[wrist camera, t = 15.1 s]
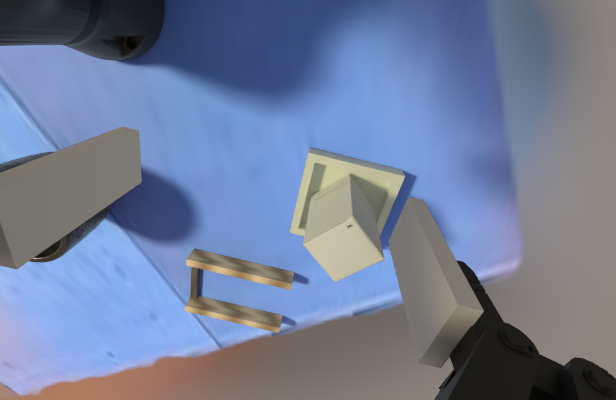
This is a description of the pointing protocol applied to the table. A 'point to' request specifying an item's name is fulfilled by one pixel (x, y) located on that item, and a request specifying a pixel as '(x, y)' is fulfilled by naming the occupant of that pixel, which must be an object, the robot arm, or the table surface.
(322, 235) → the supplement box
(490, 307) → the robot arm
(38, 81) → the table surface
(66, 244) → the planter
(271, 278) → the open u-shaped frame
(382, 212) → the tray
